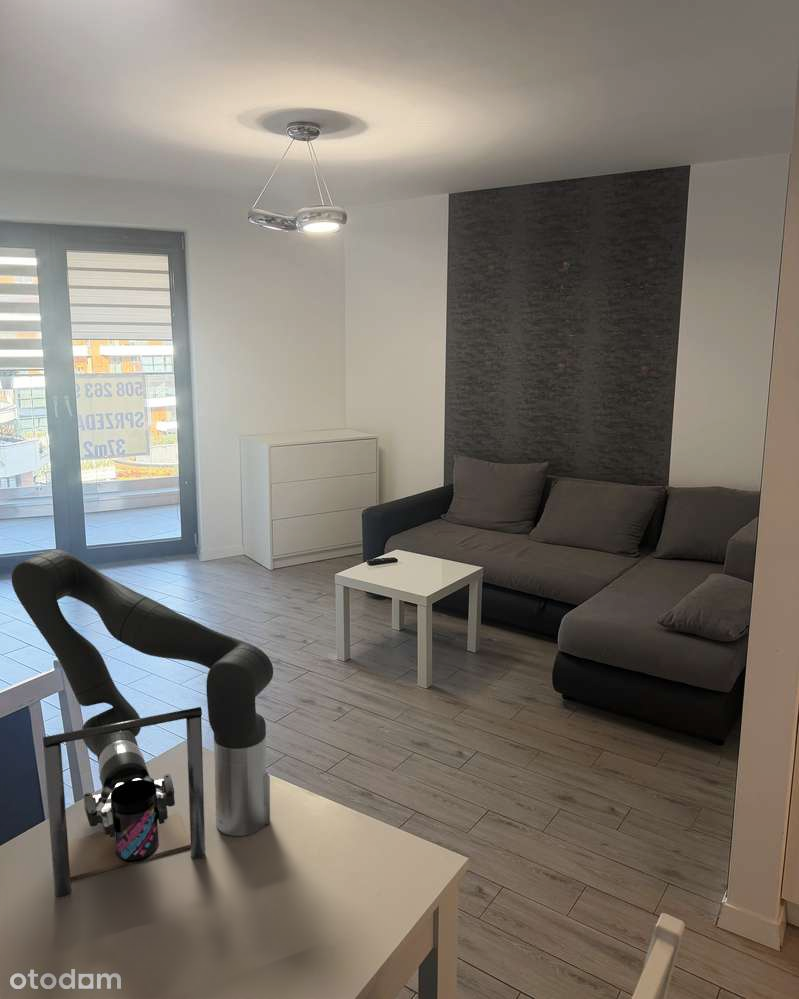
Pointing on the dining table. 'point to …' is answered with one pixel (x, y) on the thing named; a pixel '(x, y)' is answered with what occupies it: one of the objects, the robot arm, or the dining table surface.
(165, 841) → the walnut board
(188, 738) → the frame
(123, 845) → the supplement container
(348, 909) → the dining table surface
